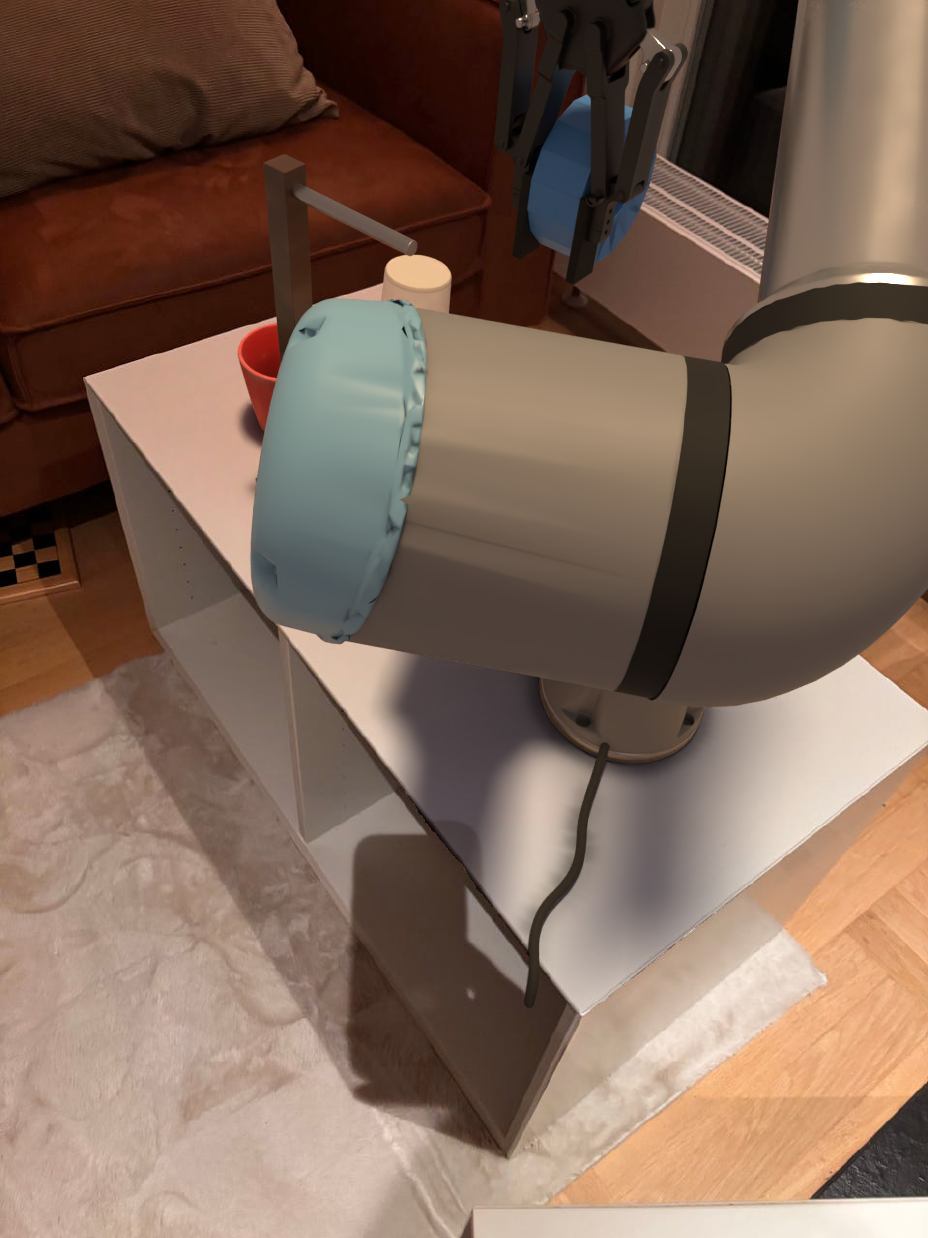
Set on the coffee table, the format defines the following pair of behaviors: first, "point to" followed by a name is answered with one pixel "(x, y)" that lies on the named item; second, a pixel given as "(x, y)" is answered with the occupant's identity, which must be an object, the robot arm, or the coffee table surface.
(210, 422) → the coffee table surface
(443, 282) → the beige cylinder
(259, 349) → the flower pot
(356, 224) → the peg stand
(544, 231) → the tape roll
